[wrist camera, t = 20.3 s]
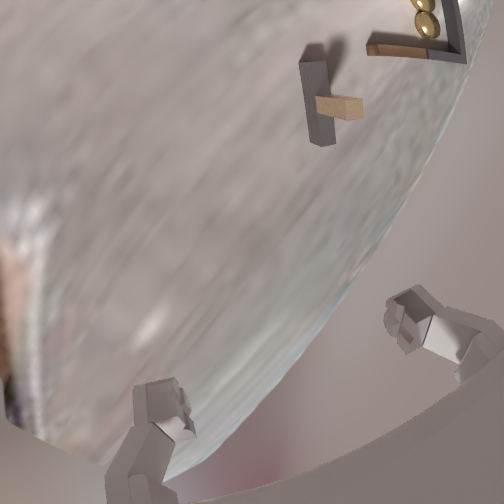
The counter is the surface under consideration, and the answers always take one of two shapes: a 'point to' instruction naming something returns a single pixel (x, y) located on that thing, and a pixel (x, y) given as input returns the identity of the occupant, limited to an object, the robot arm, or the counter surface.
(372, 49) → the walnut slot rails
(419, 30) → the brass chip
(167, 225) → the counter surface
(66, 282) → the counter surface
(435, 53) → the grey angled bracket
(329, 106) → the grey post with peg
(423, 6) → the brass chip
